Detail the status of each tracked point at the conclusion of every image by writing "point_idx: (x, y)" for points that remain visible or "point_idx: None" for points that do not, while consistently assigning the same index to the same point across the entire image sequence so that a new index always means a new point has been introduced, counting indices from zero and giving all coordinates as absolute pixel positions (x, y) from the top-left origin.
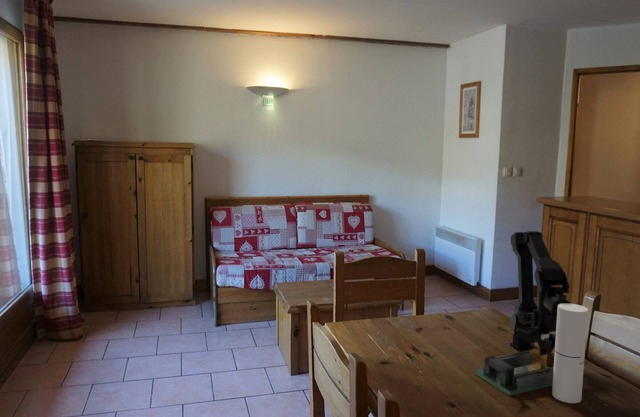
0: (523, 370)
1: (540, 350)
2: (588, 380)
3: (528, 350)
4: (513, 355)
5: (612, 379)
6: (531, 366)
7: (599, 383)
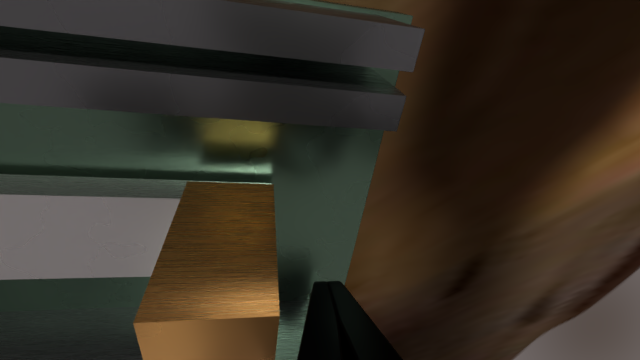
0: (20, 254)
1: (299, 354)
2: (426, 318)
3: (400, 31)
4: (3, 23)
5: (512, 334)
6: (169, 227)
7: (433, 342)
